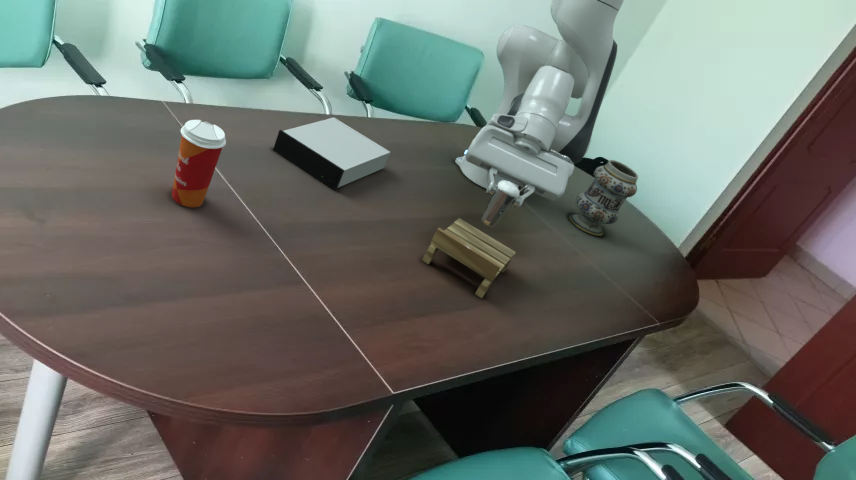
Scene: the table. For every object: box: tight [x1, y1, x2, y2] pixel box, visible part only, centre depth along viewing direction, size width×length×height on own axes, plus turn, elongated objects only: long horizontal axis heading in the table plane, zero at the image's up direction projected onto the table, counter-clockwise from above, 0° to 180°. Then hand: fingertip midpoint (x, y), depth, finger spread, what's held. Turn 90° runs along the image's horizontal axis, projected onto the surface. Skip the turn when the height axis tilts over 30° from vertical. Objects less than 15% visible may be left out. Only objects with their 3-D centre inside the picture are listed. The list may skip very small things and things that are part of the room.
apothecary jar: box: [569, 159, 639, 237], centre depth 176 cm, size 12×12×18 cm
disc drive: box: [272, 116, 391, 191], centre depth 154 cm, size 18×22×5 cm
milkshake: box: [480, 180, 528, 228], centre depth 130 cm, size 4×5×10 cm
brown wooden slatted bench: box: [421, 217, 516, 299], centre depth 137 cm, size 17×14×8 cm
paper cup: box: [171, 119, 227, 208], centre depth 117 cm, size 8×8×14 cm
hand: (502, 199), depth 129 cm, fingers closed on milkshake, 4 cm apart
